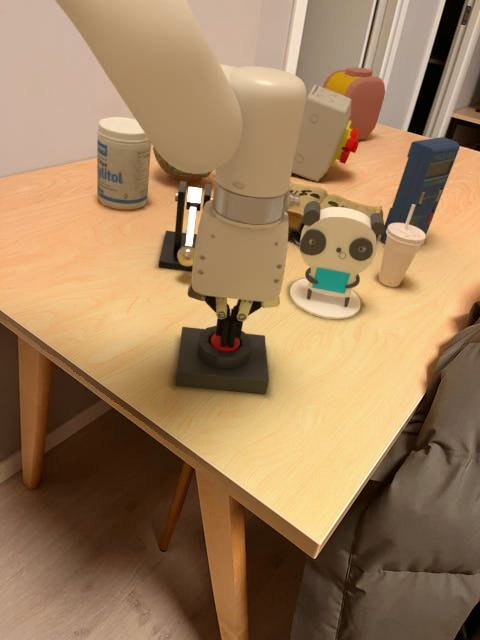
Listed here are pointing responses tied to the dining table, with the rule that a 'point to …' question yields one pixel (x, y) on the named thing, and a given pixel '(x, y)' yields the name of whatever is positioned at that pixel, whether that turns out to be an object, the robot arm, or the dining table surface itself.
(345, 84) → the alarm clock
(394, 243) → the smoothie
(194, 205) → the lever
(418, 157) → the electronic device
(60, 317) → the dining table surface
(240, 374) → the push button box
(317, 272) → the panda figurine
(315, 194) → the book
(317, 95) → the electrical switch box
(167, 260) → the switch bracket
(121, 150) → the supplement tub
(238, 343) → the stop button
